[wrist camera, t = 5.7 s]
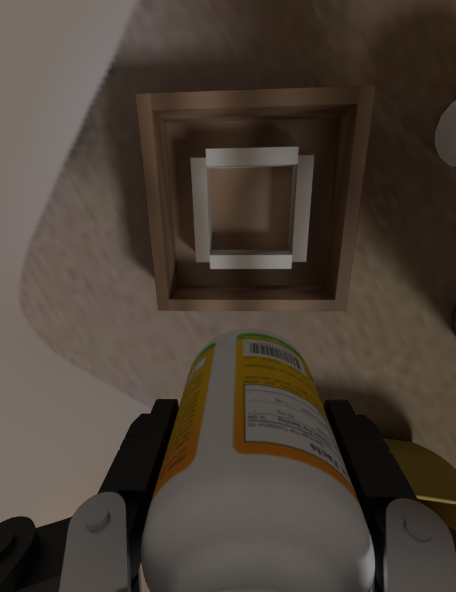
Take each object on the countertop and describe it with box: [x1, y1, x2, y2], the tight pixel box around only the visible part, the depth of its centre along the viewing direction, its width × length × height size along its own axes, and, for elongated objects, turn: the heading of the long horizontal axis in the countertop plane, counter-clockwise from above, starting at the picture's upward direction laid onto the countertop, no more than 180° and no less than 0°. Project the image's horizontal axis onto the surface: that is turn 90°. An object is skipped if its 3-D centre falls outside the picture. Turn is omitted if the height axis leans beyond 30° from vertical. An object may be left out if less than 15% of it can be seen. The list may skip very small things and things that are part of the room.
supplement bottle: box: [141, 329, 375, 592], centre depth 9 cm, size 5×5×10 cm
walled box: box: [135, 85, 376, 311], centre depth 25 cm, size 16×16×5 cm
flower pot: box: [384, 438, 456, 530], centre depth 32 cm, size 9×9×9 cm
